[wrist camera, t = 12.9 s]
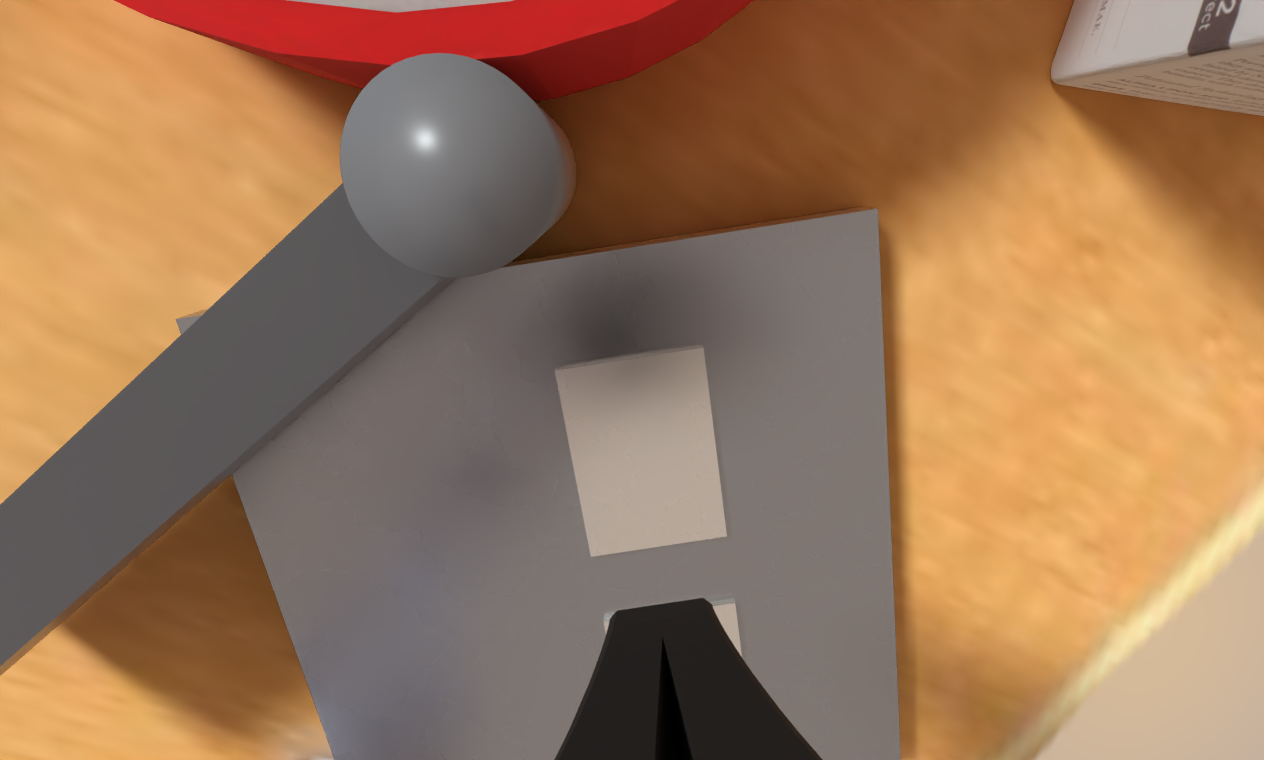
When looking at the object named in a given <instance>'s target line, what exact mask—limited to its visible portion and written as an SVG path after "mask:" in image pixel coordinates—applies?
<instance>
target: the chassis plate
mask: <svg viewBox="0 0 1264 760" xmlns="http://www.w3.org/2000/svg"><path fill="white" fill-rule="evenodd" d="M206 311H207V310H202V311H199V312H196V313H193V314H190V315H187V316H184V317H181V318H178V319H176V322H177V324H178V327H179V330H180V333H181V335H182V334H183V333H184V332H185V331H186V330H187V329H188V328H189V327H190V326H191V325H192V324H193V323H194V322H196V321H197V320H198V319H199V318H200V317H201V316H202V315H203V314H204V313H205V312H206ZM232 477H233V480H234V482H235V485H236V488H237V491H238V493H239V496H240V499H241V502H242V504H243V507H244V510H245V513H246V516H247V518H248V521H249V524H250V527H251V529H252V532H253V535H254V538H255V540H256V543H257V546H258V549H259V552H260V554H261V557H262V560H263V563H264V565H265V568H266V571H267V574H268V577H269V579H270V582H271V585H272V588H273V590H274V593H275V596H276V599H277V601H278V604H279V607H280V610H281V613H282V615H283V618H284V621H285V624H286V626H287V629H288V632H289V635H290V637H291V640H292V643H293V646H294V649H295V651H296V654H297V657H298V660H299V662H300V665H301V668H302V671H303V674H304V676H305V679H306V682H307V685H308V687H309V690H310V693H311V696H312V698H313V701H314V704H315V707H316V710H317V712H318V715H319V718H320V721H321V723H322V726H323V729H324V732H325V734H326V737H327V740H328V743H329V746H330V748H331V751H332V754H333V757H334V759H335V760H554V759H555V757H556V755H557V753H558V751H559V749H560V747H561V745H562V743H563V742H564V739H565V737H566V735H567V733H568V731H569V729H570V727H571V724H572V722H573V720H574V717H575V715H576V713H577V710H578V708H579V706H580V703H581V701H582V699H583V696H584V694H585V692H586V689H587V687H588V685H589V682H590V679H591V677H592V674H593V671H594V669H595V666H596V663H597V661H598V658H599V655H600V652H601V649H602V646H603V643H604V640H605V637H606V633H607V630H608V626H609V621H610V618H611V617H612V616H613V615H614V613H615V612H616V611H617V610H624V609H631V608H637V607H644V606H651V605H658V604H664V603H671V602H678V601H684V600H691V599H698V598H704V599H705V600H707V601H708V602H710V603H711V604H712V606H713V609H714V611H715V613H716V615H717V617H718V619H719V621H720V623H721V625H722V626H723V628H724V630H725V632H726V633H727V635H728V637H729V638H730V640H731V641H732V643H733V645H734V646H735V648H736V649H737V651H738V652H739V654H740V655H741V657H742V658H743V660H744V661H745V663H746V664H747V666H748V667H749V668H750V670H751V671H752V673H753V674H754V675H755V677H756V678H757V679H758V681H759V682H760V683H761V685H762V686H763V687H764V689H765V690H766V691H767V693H768V694H769V695H770V697H771V698H772V699H773V701H774V702H775V703H776V704H777V706H778V707H779V708H780V710H781V711H782V712H783V713H784V715H785V716H786V717H787V718H788V720H789V721H790V722H791V723H792V724H793V726H794V727H795V728H796V729H797V731H798V732H799V733H800V734H801V735H802V736H803V737H804V739H805V740H806V741H807V742H808V743H809V744H810V746H811V747H812V748H813V749H814V750H815V751H816V752H817V754H818V755H819V756H820V757H821V758H822V759H823V760H901V753H900V729H899V705H898V681H897V657H896V633H895V609H894V585H893V561H892V537H891V513H890V489H889V465H888V441H887V417H886V393H885V369H884V345H883V320H882V296H881V272H880V248H879V224H878V209H876V208H868V207H856V208H850V209H844V210H837V211H831V212H825V213H818V214H812V215H806V216H799V217H793V218H787V219H780V220H774V221H767V222H761V223H755V224H748V225H742V226H736V227H729V228H723V229H717V230H710V231H704V232H698V233H691V234H685V235H679V236H672V237H666V238H660V239H653V240H647V241H640V242H634V243H628V244H621V245H615V246H609V247H602V248H596V249H590V250H583V251H577V252H571V253H564V254H558V255H552V256H545V257H539V258H533V259H526V260H520V261H513V262H510V263H508V264H506V265H504V266H502V267H501V268H499V269H496V270H493V271H491V272H488V273H485V274H481V275H477V276H471V277H461V278H456V279H455V280H454V281H452V282H451V283H450V284H449V285H448V286H447V287H446V288H444V289H443V290H442V291H441V292H440V293H439V294H438V295H436V296H435V297H434V298H433V299H432V300H431V301H429V302H428V303H427V304H426V305H425V306H424V307H423V308H421V309H420V310H419V311H418V312H417V313H416V314H415V315H413V316H412V317H411V318H410V319H409V320H408V321H407V322H405V323H404V324H403V325H402V326H401V327H400V328H399V329H397V330H396V331H395V332H394V333H393V334H392V335H391V336H389V337H388V338H387V339H386V340H385V341H384V342H382V343H381V344H380V345H379V346H378V347H377V348H376V349H374V350H373V351H372V352H371V353H370V354H369V355H368V356H366V357H365V358H364V359H363V360H362V361H361V362H360V363H358V364H357V365H356V366H355V367H354V368H353V369H352V370H350V371H349V372H348V373H347V374H346V375H345V376H344V377H342V378H341V379H340V380H339V381H338V382H337V383H335V384H334V385H333V386H332V387H331V388H330V389H329V390H327V391H326V392H325V393H324V394H323V395H322V396H321V397H319V398H318V399H317V400H316V401H315V402H314V403H313V404H311V405H310V406H309V407H308V408H307V409H306V410H305V411H303V412H302V413H301V414H300V415H299V416H298V417H297V418H295V419H294V420H293V421H292V422H291V423H290V424H288V425H287V426H286V427H285V428H284V429H283V430H282V431H280V432H279V433H278V434H277V435H276V436H275V437H274V438H272V439H271V440H270V441H269V442H268V443H267V444H266V445H264V446H263V447H262V448H261V449H260V450H259V451H258V452H256V453H255V454H254V455H253V456H252V457H251V458H250V459H248V460H247V461H246V462H245V463H244V464H243V465H242V466H240V467H239V468H238V469H237V470H236V471H235V472H233V473H232Z"/></svg>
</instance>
